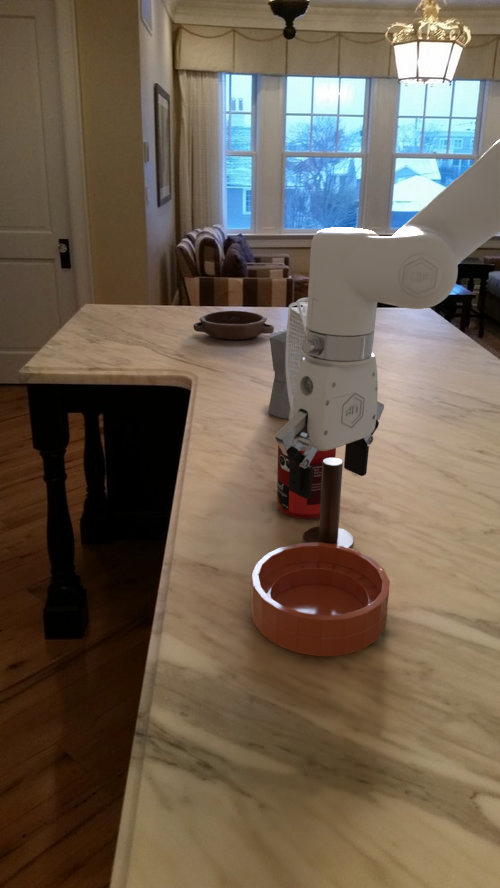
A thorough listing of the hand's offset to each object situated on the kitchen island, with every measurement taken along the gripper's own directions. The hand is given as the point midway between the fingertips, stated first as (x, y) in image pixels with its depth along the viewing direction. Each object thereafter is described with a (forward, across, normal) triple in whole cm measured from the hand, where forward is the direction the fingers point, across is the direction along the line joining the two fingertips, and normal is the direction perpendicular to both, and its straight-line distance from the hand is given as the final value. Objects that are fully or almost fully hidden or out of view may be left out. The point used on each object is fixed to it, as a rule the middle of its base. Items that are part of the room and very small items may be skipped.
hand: (328, 482), depth 85 cm
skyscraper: (+10, +16, +20) cm, 28 cm away
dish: (+11, +64, +94) cm, 115 cm away
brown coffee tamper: (+10, 0, 0) cm, 10 cm away
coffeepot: (+10, +33, +40) cm, 53 cm away
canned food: (+10, +7, +10) cm, 17 cm away
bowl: (+10, -10, -8) cm, 16 cm away
